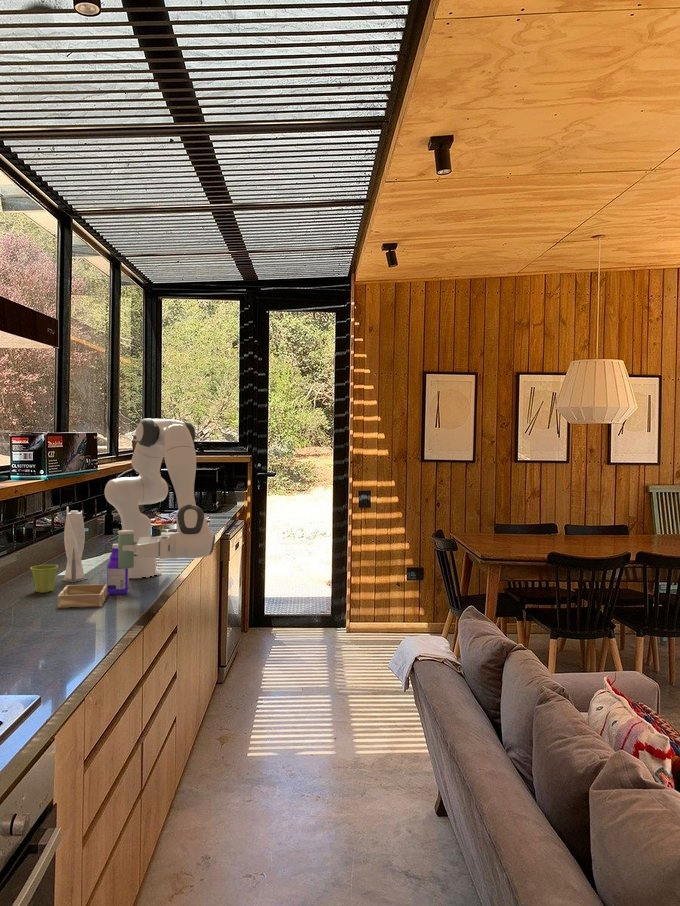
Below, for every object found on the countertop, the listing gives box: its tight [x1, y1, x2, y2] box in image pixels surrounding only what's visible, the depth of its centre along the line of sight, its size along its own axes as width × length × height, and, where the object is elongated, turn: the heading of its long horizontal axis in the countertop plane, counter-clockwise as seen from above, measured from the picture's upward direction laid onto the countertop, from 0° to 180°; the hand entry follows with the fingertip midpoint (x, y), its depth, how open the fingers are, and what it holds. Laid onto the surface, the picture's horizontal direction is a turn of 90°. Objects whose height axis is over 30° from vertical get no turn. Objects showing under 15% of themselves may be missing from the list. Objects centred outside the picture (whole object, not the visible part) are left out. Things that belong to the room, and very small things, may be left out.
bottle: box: [106, 543, 130, 595], centre depth 274 cm, size 7×6×17 cm
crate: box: [57, 583, 109, 609], centre depth 261 cm, size 18×14×4 cm
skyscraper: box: [60, 506, 89, 583], centre depth 299 cm, size 8×8×28 cm
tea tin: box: [117, 529, 134, 569], centre depth 260 cm, size 5×5×12 cm
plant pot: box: [29, 564, 59, 594], centre depth 278 cm, size 9×9×9 cm
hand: (123, 546), depth 260 cm, fingers closed on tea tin, 5 cm apart
